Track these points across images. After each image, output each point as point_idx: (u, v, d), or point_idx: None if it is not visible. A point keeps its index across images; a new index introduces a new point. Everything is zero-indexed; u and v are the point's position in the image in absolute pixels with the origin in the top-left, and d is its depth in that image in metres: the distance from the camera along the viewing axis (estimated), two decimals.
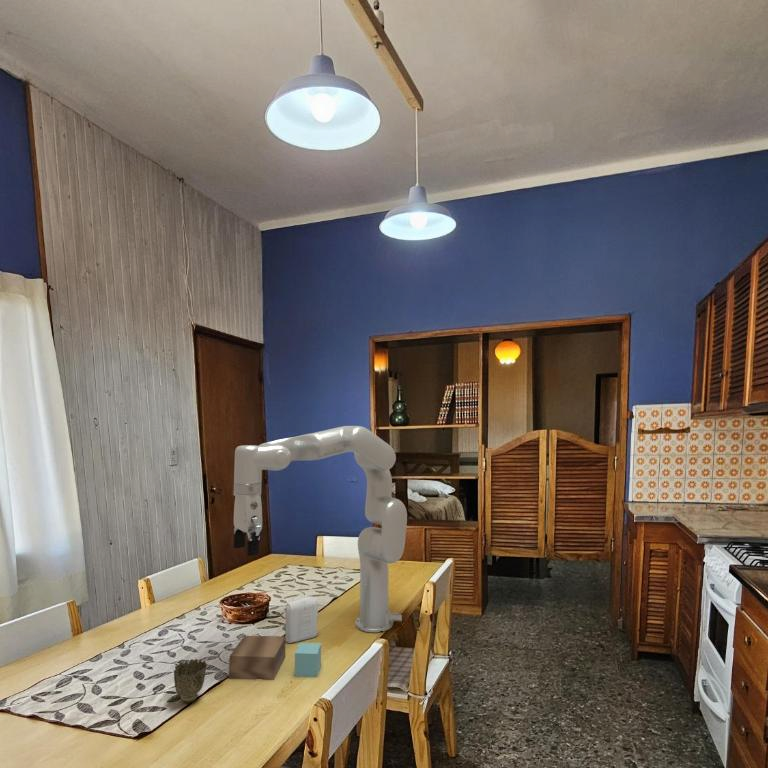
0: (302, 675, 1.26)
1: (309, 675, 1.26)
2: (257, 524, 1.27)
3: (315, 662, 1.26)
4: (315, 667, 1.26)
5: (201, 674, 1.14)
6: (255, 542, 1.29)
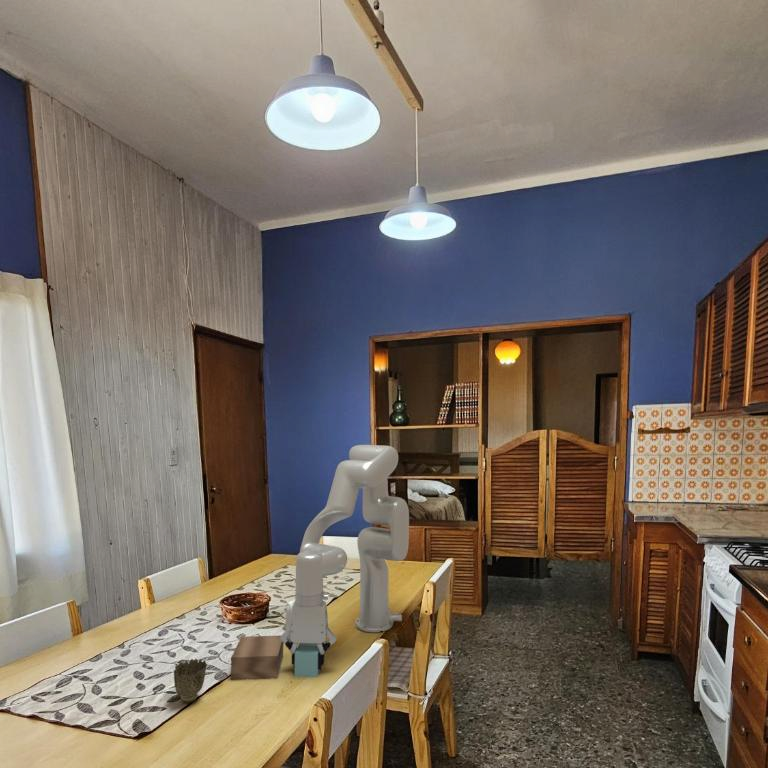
0: (302, 675, 1.26)
1: (309, 675, 1.26)
2: (334, 636, 1.29)
3: (315, 662, 1.26)
4: (315, 667, 1.26)
5: (201, 674, 1.14)
6: (324, 653, 1.29)
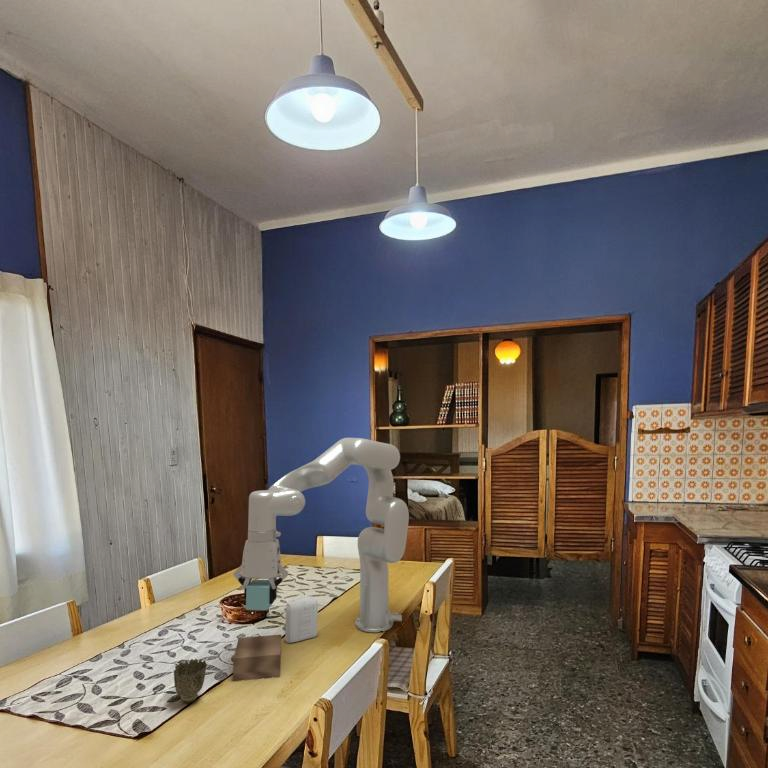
0: (253, 608, 1.29)
1: (260, 608, 1.28)
2: (286, 571, 1.32)
3: (266, 595, 1.29)
4: (266, 600, 1.29)
5: (201, 674, 1.14)
6: (276, 588, 1.32)
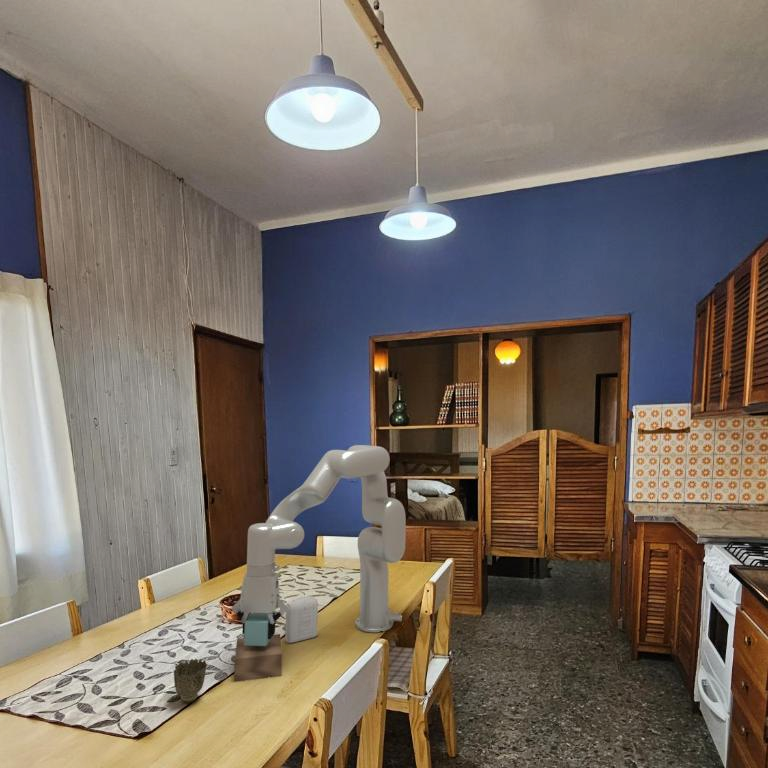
0: (252, 644, 1.28)
1: (258, 644, 1.28)
2: (284, 606, 1.31)
3: (264, 631, 1.28)
4: (264, 636, 1.28)
5: (201, 674, 1.14)
6: (274, 623, 1.31)
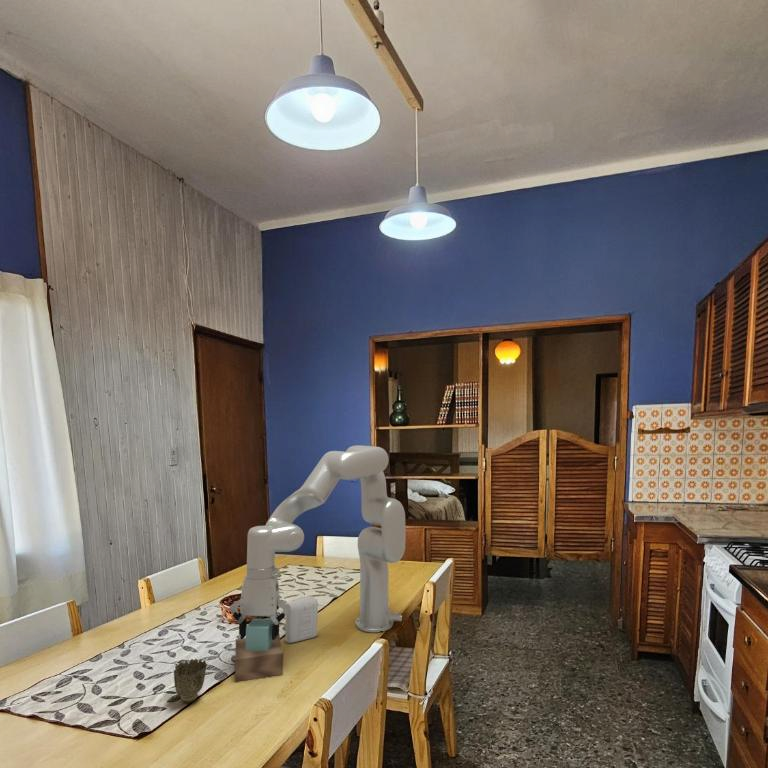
0: (253, 649, 1.28)
1: (260, 649, 1.28)
2: (287, 606, 1.31)
3: (266, 636, 1.28)
4: (266, 641, 1.28)
5: (201, 674, 1.14)
6: (278, 624, 1.31)
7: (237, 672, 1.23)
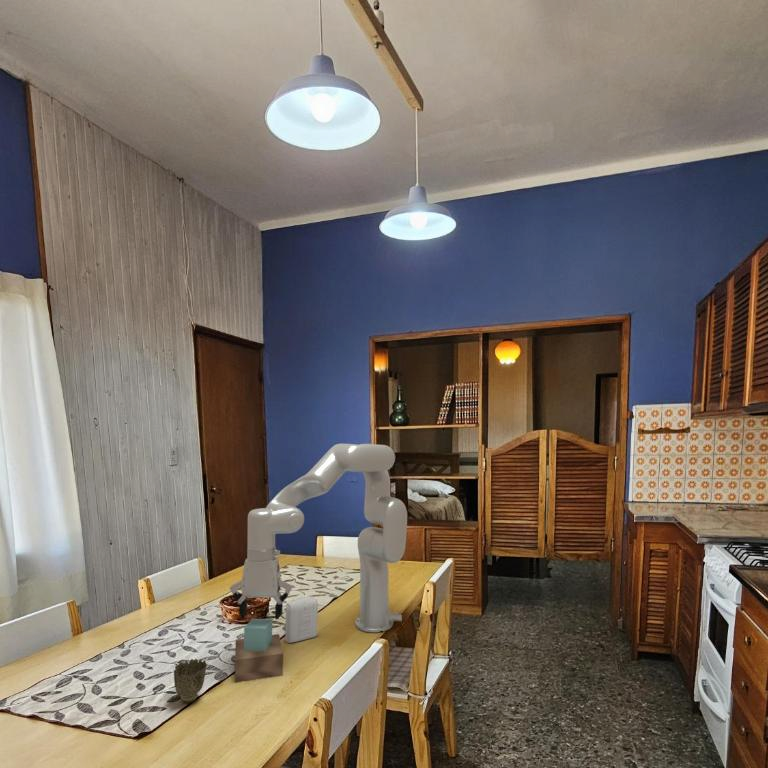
0: (251, 649, 1.28)
1: (258, 649, 1.28)
2: (288, 585, 1.32)
3: (264, 636, 1.28)
4: (264, 641, 1.28)
5: (201, 674, 1.14)
6: (282, 603, 1.32)
7: (237, 672, 1.23)
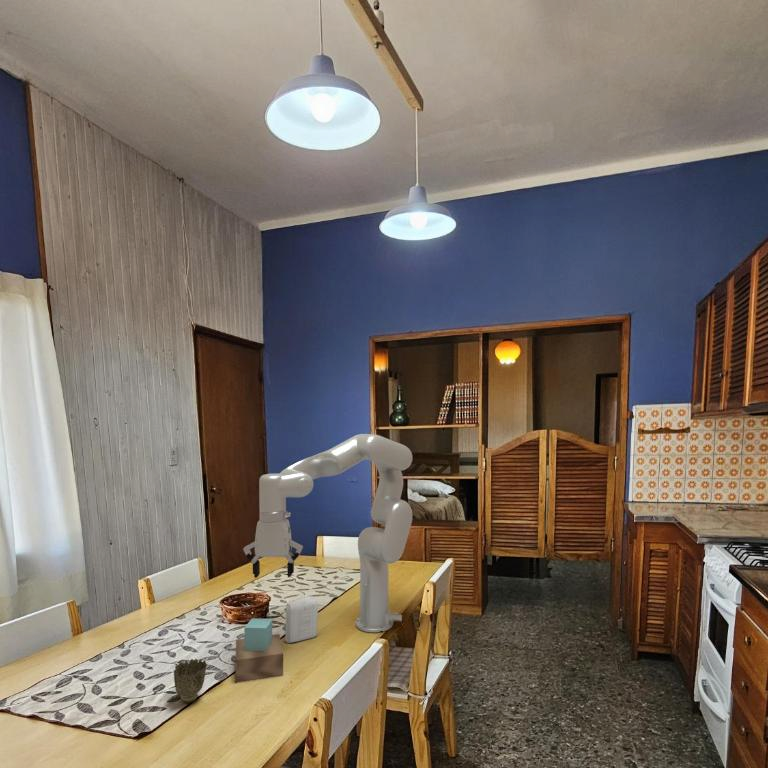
0: (251, 649, 1.28)
1: (258, 649, 1.28)
2: (299, 545, 1.38)
3: (264, 636, 1.28)
4: (264, 641, 1.28)
5: (201, 674, 1.14)
6: (293, 563, 1.39)
7: (237, 673, 1.23)
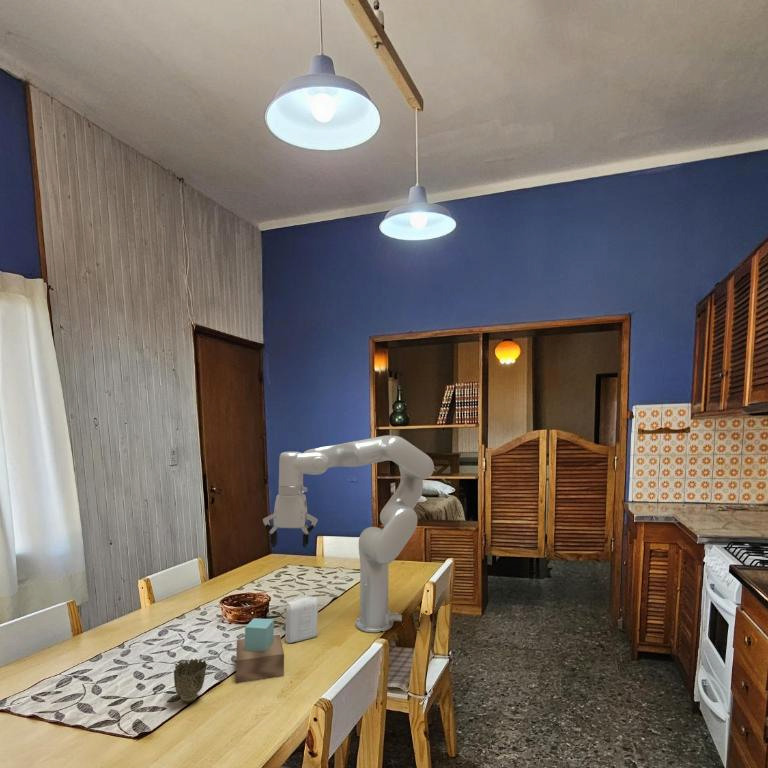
0: (252, 649, 1.28)
1: (258, 649, 1.28)
2: (314, 518, 1.49)
3: (264, 636, 1.28)
4: (264, 641, 1.28)
5: (201, 674, 1.14)
6: (308, 534, 1.49)
7: (238, 673, 1.23)
